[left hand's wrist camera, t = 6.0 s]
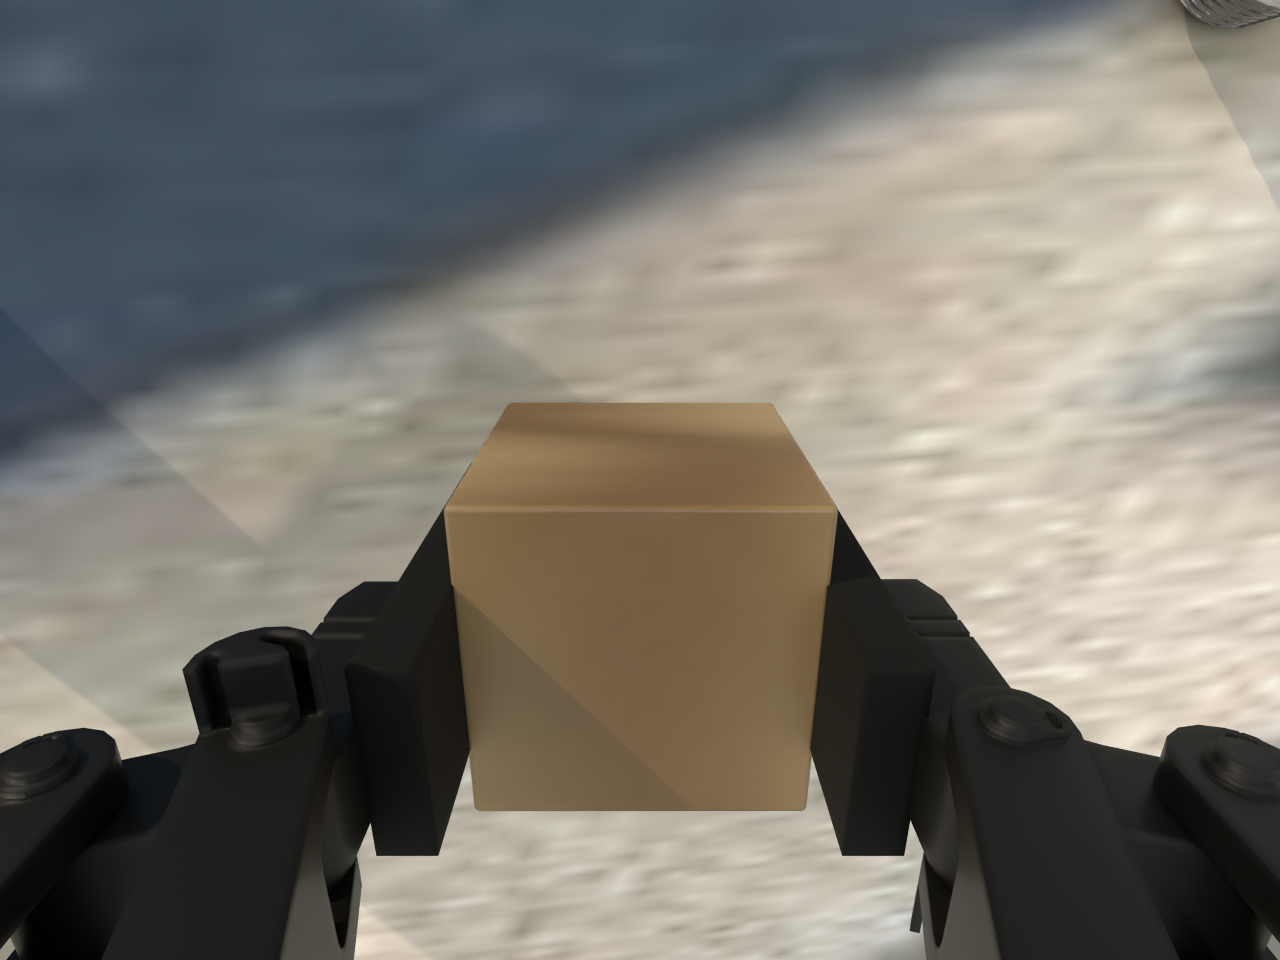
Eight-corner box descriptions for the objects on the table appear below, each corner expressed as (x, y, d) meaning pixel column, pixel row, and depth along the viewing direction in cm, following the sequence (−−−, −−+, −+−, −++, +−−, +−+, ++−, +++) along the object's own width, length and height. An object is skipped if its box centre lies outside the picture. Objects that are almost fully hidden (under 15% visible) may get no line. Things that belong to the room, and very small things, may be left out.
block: (522, 629, 16) (473, 813, 11) (507, 401, 14) (441, 506, 9) (757, 629, 16) (807, 813, 11) (773, 401, 14) (840, 507, 9)
